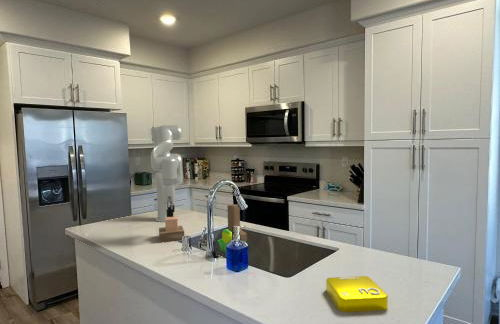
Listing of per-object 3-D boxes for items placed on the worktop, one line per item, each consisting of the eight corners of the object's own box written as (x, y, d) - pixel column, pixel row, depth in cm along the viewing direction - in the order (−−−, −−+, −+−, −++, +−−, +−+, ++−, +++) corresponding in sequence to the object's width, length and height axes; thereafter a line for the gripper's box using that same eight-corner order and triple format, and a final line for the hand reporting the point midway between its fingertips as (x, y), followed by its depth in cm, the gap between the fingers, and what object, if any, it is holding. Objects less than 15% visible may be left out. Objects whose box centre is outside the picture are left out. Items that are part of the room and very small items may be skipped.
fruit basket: (246, 252, 143) (246, 227, 142) (232, 258, 136) (231, 232, 136) (229, 247, 151) (228, 223, 150) (215, 252, 144) (214, 227, 143)
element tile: (368, 287, 108) (368, 273, 107) (390, 311, 93) (390, 295, 92) (324, 289, 107) (324, 275, 107) (339, 313, 92) (339, 297, 92)
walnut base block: (159, 236, 170) (158, 227, 170) (182, 234, 174) (181, 225, 174) (160, 243, 159) (159, 233, 159) (184, 241, 163) (184, 231, 162)
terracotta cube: (166, 228, 169) (166, 217, 168) (178, 227, 170) (177, 216, 170) (165, 231, 163) (165, 219, 163) (177, 230, 164) (177, 219, 164)
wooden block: (247, 241, 158) (246, 205, 157) (241, 244, 155) (240, 207, 153) (234, 238, 164) (233, 203, 163) (227, 240, 160) (227, 205, 159)
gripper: (163, 179, 173) (164, 211, 174) (160, 184, 156) (161, 219, 157) (178, 179, 174) (179, 210, 175) (176, 184, 157) (177, 218, 158)
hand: (170, 214), depth 166 cm, fingers open, 9 cm apart
